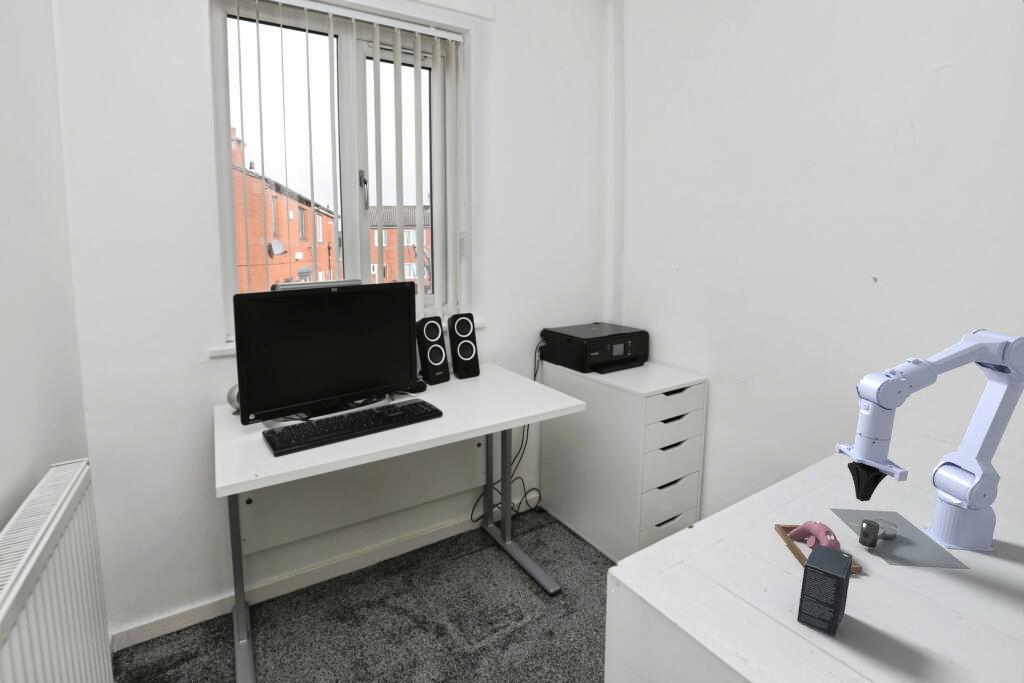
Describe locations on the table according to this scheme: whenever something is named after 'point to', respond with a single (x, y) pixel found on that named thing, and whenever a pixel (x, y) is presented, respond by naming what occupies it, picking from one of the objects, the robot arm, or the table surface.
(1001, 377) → the robot arm
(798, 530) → the video game controller
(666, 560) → the table surface
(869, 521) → the crank
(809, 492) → the table surface
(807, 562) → the box
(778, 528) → the bay
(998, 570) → the table surface
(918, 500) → the table surface
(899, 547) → the plate
